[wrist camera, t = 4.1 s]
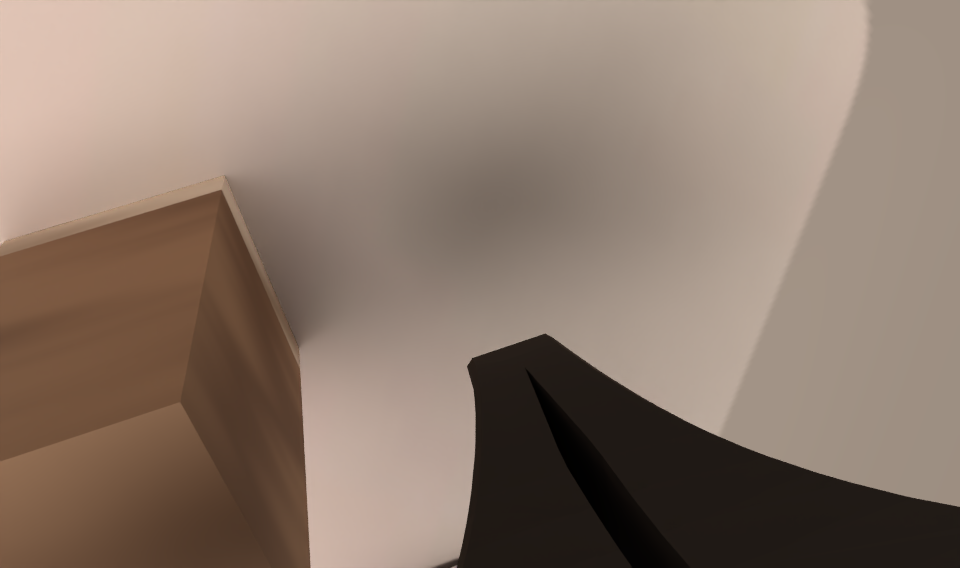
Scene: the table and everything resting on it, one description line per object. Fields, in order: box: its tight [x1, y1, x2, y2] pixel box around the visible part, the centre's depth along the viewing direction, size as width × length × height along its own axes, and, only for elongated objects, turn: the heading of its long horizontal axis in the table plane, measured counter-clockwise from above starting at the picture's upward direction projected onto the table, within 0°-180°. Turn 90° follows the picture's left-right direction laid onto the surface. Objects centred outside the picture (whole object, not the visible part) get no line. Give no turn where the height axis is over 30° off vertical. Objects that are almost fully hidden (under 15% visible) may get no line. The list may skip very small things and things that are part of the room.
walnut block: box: [0, 175, 310, 568], centre depth 14 cm, size 5×5×9 cm
